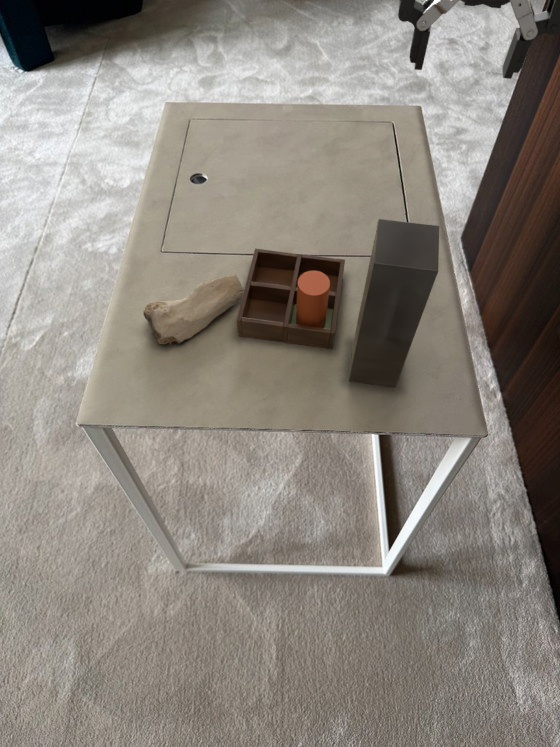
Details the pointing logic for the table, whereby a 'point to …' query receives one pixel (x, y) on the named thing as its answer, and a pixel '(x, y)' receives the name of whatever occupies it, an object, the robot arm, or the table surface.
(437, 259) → the stand
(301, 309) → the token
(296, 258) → the grid
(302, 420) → the table surface
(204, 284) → the bone fragment
